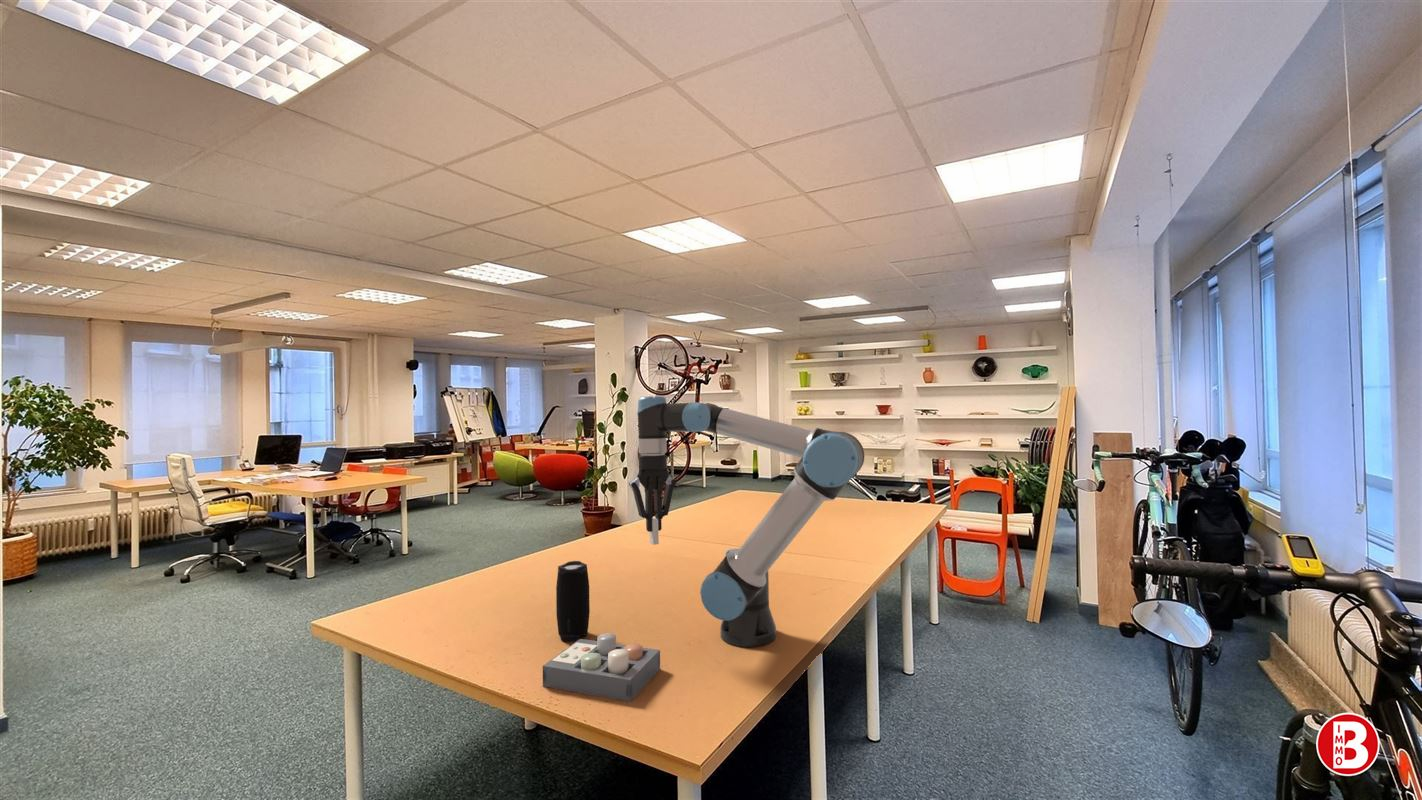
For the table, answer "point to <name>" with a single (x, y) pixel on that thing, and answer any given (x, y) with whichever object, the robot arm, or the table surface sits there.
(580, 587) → the portable speaker
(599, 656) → the button sage
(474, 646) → the table surface
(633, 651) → the button terracotta
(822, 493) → the robot arm
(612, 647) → the button grey
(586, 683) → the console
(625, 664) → the button ivory
